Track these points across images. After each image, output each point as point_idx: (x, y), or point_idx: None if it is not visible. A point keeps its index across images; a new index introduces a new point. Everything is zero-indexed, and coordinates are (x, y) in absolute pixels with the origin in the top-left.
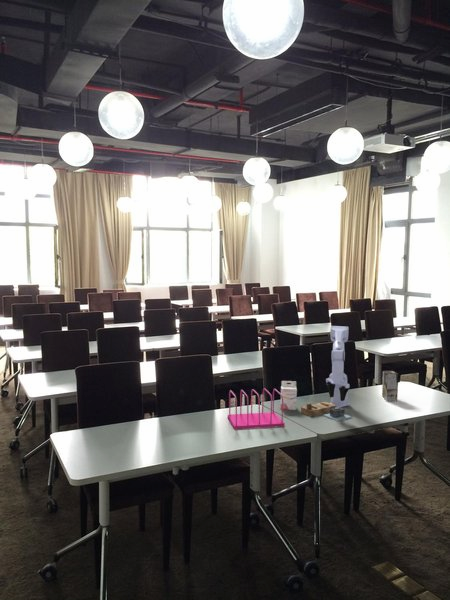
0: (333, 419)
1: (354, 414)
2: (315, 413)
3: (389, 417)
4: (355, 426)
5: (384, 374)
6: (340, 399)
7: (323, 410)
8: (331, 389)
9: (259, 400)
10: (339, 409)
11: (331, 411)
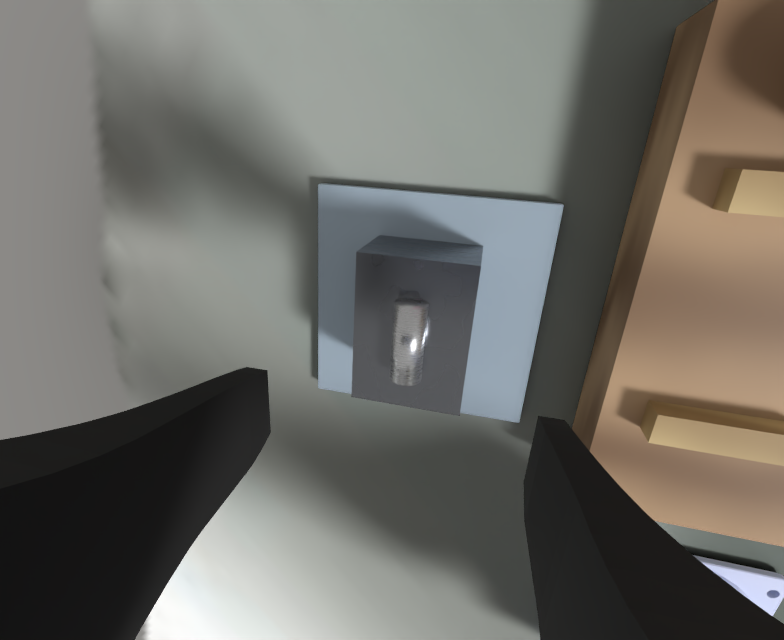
0: (382, 188)
1: (374, 478)
2: (663, 118)
3: (189, 570)
4: (127, 205)
5: None
6: (252, 375)
7: (624, 284)
8: (570, 595)
9: None
10: (381, 345)
11: (451, 256)
